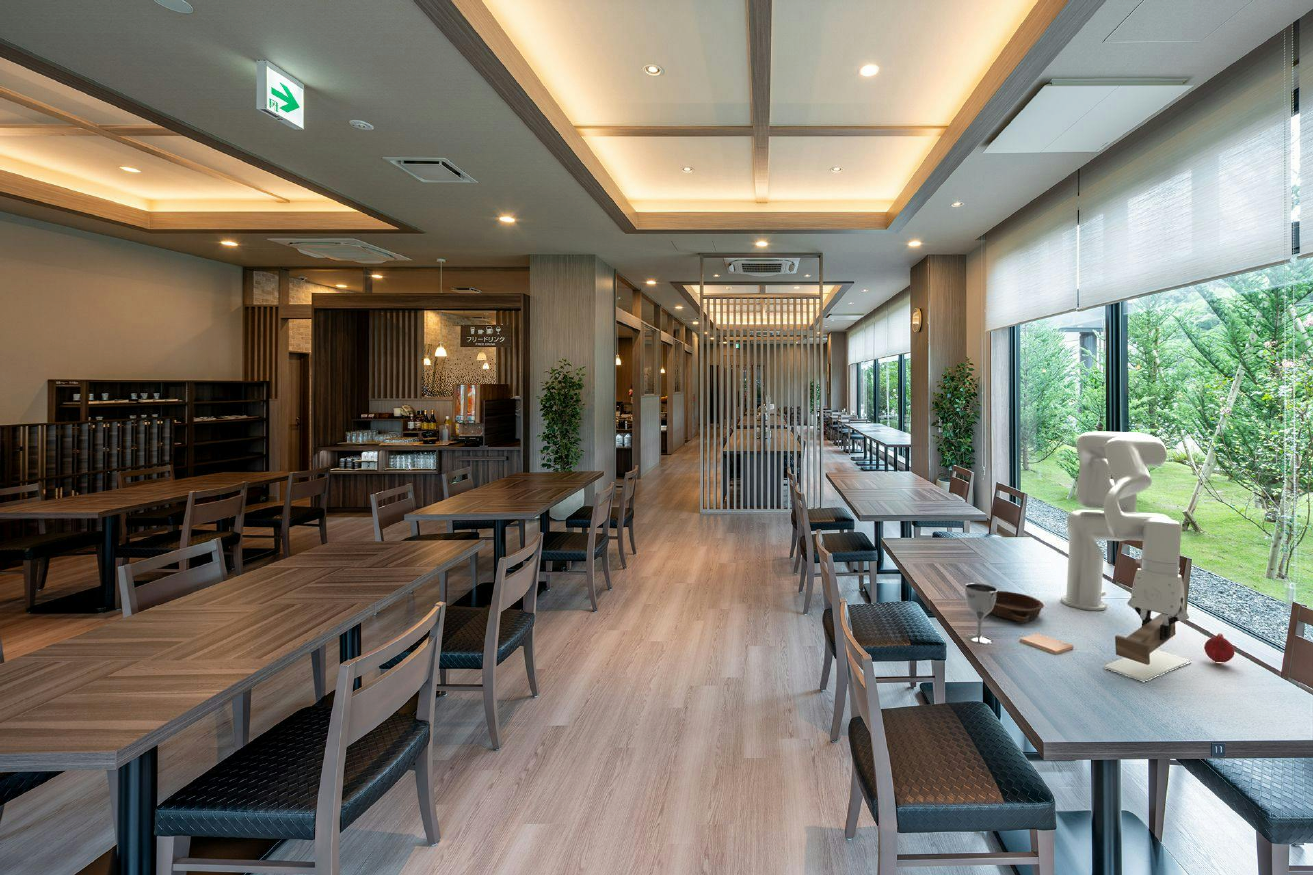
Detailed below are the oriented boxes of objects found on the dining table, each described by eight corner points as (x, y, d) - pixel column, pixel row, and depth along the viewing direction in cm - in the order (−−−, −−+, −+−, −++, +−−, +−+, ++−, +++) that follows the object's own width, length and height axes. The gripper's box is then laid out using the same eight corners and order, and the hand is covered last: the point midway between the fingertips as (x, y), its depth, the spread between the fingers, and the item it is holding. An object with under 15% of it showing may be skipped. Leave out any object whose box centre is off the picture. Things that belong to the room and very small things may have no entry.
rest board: (1150, 650, 172) (1150, 647, 172) (1190, 663, 164) (1191, 660, 164) (1103, 668, 160) (1103, 665, 160) (1144, 682, 152) (1144, 679, 152)
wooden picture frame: (1036, 633, 181) (1019, 638, 177) (1073, 645, 172) (1056, 651, 169) (1036, 637, 181) (1019, 642, 177) (1073, 650, 172) (1056, 656, 169)
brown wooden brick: (1153, 628, 169) (1152, 610, 168) (1184, 636, 163) (1184, 619, 162) (1115, 654, 160) (1114, 636, 160) (1147, 664, 154) (1147, 646, 154)
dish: (988, 623, 191) (989, 607, 191) (972, 600, 213) (973, 586, 212) (1053, 629, 187) (1054, 613, 187) (1030, 605, 208) (1031, 590, 208)
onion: (1235, 670, 160) (1238, 639, 159) (1206, 665, 163) (1208, 634, 162) (1230, 662, 165) (1232, 632, 164) (1201, 657, 168) (1203, 627, 167)
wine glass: (982, 646, 173) (985, 593, 172) (957, 636, 181) (959, 585, 179) (1000, 641, 177) (1003, 589, 176) (975, 631, 184) (977, 581, 183)
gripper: (1116, 561, 167) (1112, 628, 168) (1192, 576, 153) (1187, 650, 154) (1131, 557, 171) (1127, 624, 172) (1206, 572, 156) (1201, 645, 157)
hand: (1155, 636), depth 163 cm, fingers closed on brown wooden brick, 3 cm apart
